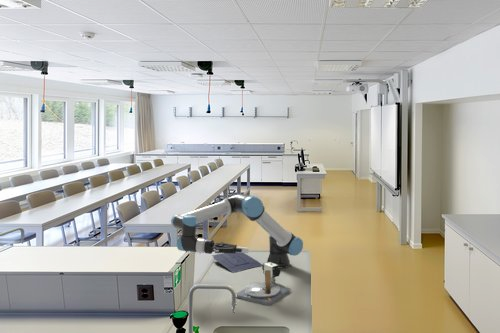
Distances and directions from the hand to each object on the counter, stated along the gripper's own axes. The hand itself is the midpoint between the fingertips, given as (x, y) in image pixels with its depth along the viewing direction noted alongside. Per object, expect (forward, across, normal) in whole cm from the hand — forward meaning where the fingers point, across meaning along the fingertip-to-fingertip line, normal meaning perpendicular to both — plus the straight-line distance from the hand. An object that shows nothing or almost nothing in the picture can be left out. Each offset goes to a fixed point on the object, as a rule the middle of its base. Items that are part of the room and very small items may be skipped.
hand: (247, 250), depth 233 cm
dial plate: (+8, -5, -25) cm, 27 cm away
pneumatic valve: (+11, -24, -26) cm, 37 cm away
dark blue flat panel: (-17, -56, -28) cm, 65 cm away
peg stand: (+8, -5, -24) cm, 26 cm away
